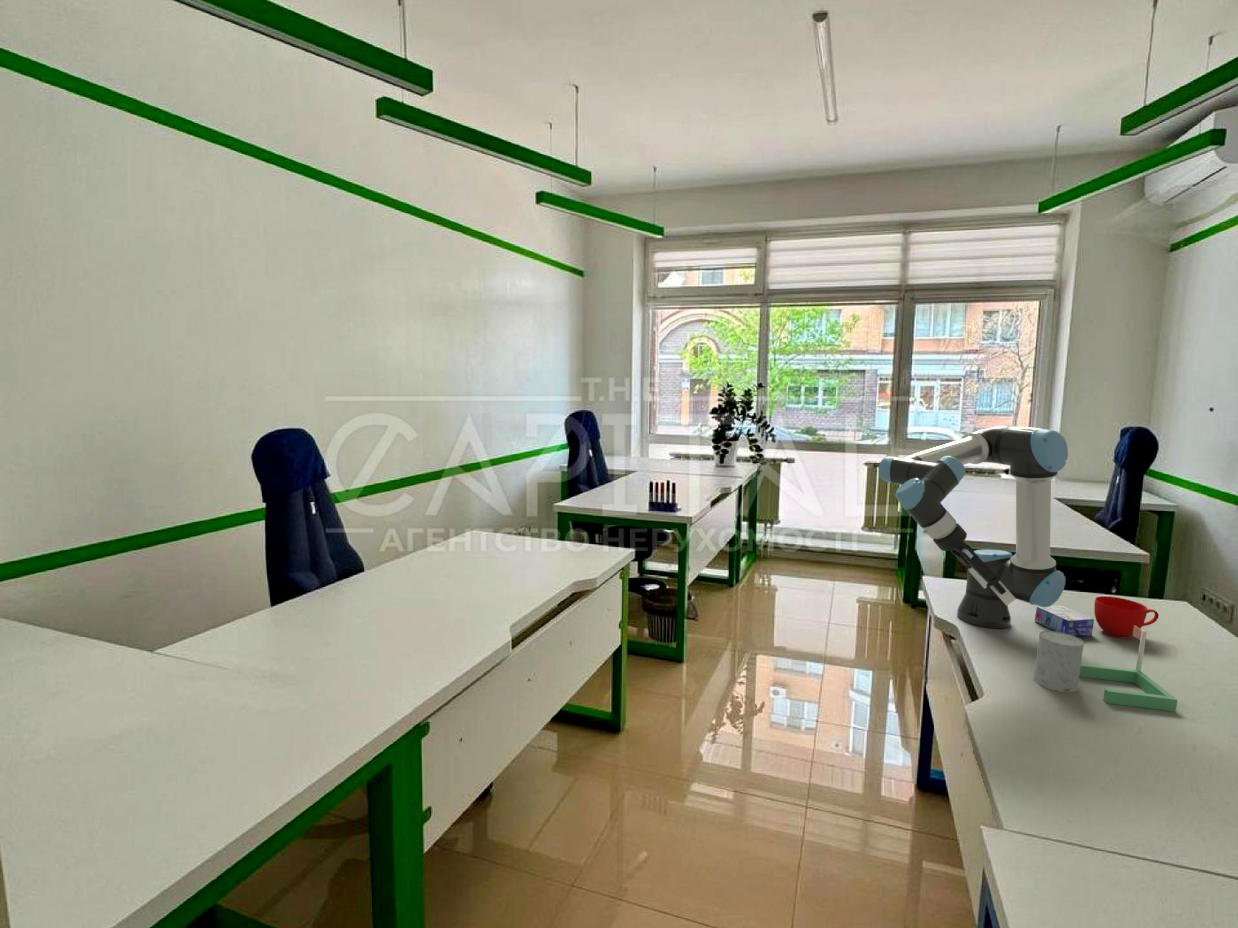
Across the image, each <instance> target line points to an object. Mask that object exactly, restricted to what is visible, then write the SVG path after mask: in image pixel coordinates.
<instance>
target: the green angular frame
mask: <svg viewBox="0 0 1238 928" xmlns="http://www.w3.org/2000/svg"><path fill="white" fill-rule="evenodd" d="M1147 634H1148V633H1147V631H1146V630H1143V629H1142V628H1141V629H1140V628H1138V627H1137V626H1135V625H1134V629H1133V635H1132V636H1133V637H1135V638H1136V639H1138V640H1139V646H1138V653H1137V660H1136V665H1135V669H1131V668H1122V667H1114V666H1105V665H1097V664H1090V663H1089V664H1087V663H1081V667H1080V674H1079V678H1080V677H1081V678H1082V677H1083V678H1091V679H1099V680H1105V681H1106V680H1107V681H1114V682H1122V683H1123V682H1125V683H1131V684H1132V683H1133V684H1135V685H1136V686H1138V687H1139V688H1141V690H1143V691H1144V692H1137V691H1128V690H1119V689H1114V688H1104V693H1103V698H1102V700H1103V701H1104V702H1105V703H1106V704H1113V705H1120V706H1128V707H1135V708H1142V709H1143V708H1146V709H1152V710H1160V711H1168V712H1175V713H1176V712H1177V705H1178V699H1177V698H1176V697H1175V696H1173V695H1172V694H1171V693H1170V692H1168V691H1167V690H1166V689H1164V688H1163V687H1162V686H1161V685H1159V684H1158V683H1157V682H1156V681H1154V680H1153V679H1152V678H1150V677H1149V676H1148V675H1147V674H1145V673H1144V672H1142V665H1143V658H1144V652H1145V645H1146V639H1147Z"/></svg>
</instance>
